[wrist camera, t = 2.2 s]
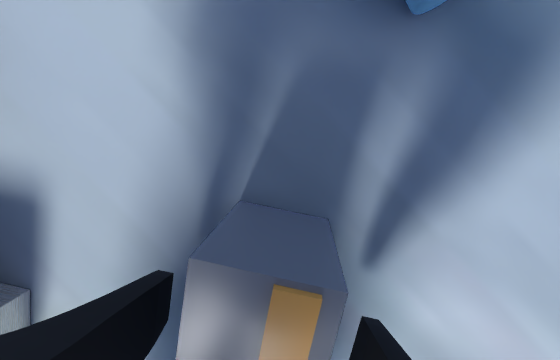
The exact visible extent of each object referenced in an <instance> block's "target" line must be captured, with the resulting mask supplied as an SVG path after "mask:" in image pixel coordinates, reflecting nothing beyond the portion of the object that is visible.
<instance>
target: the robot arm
mask: <svg viewBox="0 0 560 360" xmlns="http://www.w3.org/2000/svg"><path fill="white" fill-rule="evenodd" d="M173 274H174V273H169V272H165V271H160V270H157V271H155V272H153V273H150V274H148V275H146V276H144V277H142V278H140V279H138V280H136V281H134V282H132V283H130V284H128V285H126V286H123V287H121V288H119V289H117V290H115V291H113V292H111V293H109V294H107V295H104V296H102V297H100V298H98V299H95V300H93V301H91V302H88V303H86V304H84V305H82V306H79V307H77V308H75V309H72V310H70V311H68V312H65V313H62V314H60V315H57V316H55V317H52V318H49V319H47V320H44V321H41V322H38V323H36V324H33V325H30V326H27V327H24V328H21V329H18V330H15V331H12V332H8V333H5V334H2V335H0V360H144V359H145V357H146V356H147V355H148V353H149V352H150V350H151V349H152V347H153V346H154V344H155V342H156V341H157V339H158V337H159V336H160V334H161V332H162V330H163V328H164V326H165V325H166V323H167V321H168V317H169V309H170V300H171V291H172V283H173ZM349 360H412V359H411V358H410V357H409V356H408V355H407V353H406V352H405V351H404V350H403V349H402V347H401V346H400V345H399V344H398V342H397V341H396V340H395V339H394V338H393V336H392V335H391V334H390V333H389V331H388V330H387V329H386V328H385V327H384V325H383V324H382V323H381V322H380V321H379V320H377V319H373V318H368V317H364V316H362V318H361V321H360V324H359V328H358V331H357V335H356V338H355V342H354V345H353V348H352V352H351V355H350V359H349Z"/></svg>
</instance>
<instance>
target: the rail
mask: <svg viewBox="0 0 560 360" xmlns="http://www.w3.org/2000/svg"><path fill="white" fill-rule="evenodd" d="M27 326H30V290H29V289H24V288H20V287H16V286H12V285H7V284H3V283H0V335H2V334H5V333H8V332H12V331H15V330H18V329H21V328H24V327H27Z"/></svg>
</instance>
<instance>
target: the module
mask: <svg viewBox="0 0 560 360" xmlns="http://www.w3.org/2000/svg"><path fill="white" fill-rule="evenodd" d="M347 296H348V290H347V287H346V283H345V279H344V276H343V272H342V268H341V265H340V261H339V257H338V254H337V250H336V246H335V243H334V239H333V235H332V231H331V228H330V224H329V220H328V219H325V218H321V217H316V216H311V215H306V214H301V213H297V212H292V211H287V210H282V209H278V208H273V207H268V206H263V205H258V204H254V203H249V202H244V201H239V202H238V203H237V204H236V205H235V206H234V208H233V209H232V210H231V211H230V212H229V213H228V214H227V215H226V217H225V218H224V219H223V220H222V221H221V222H220V223H219V224H218V226H217V227H216V228H215V229H214V230H213V231H212V232H211V233H210V235H209V236H208V237H207V238H206V239H205V240H204V241H203V242H202V244H201V245H200V246H199V247H198V248H197V249H196V250H195V251H194V252H193V254H192V255H191V256H190V257H189V260H188V268H187V275H186V283H185V291H184V299H183V306H182V314H181V322H180V329H179V337H178V345H177V352H176V360H330V359H331V355H332V351H333V348H334V344H335V340H336V336H337V333H338V329H339V325H340V322H341V318H342V314H343V311H344V307H345V303H346V299H347Z"/></svg>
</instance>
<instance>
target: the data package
mask: <svg viewBox="0 0 560 360" xmlns="http://www.w3.org/2000/svg"><path fill="white" fill-rule="evenodd" d="M405 1H406V3H407V5H408V7H409V9H410V11H411V12H412V13H413V14H416V15H419V14H423V13H425V12H428V11H430V10H432V9H434V8H435V7H437V6H439V5H441V4H442V3H444V2H446V1H447V0H405Z"/></svg>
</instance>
